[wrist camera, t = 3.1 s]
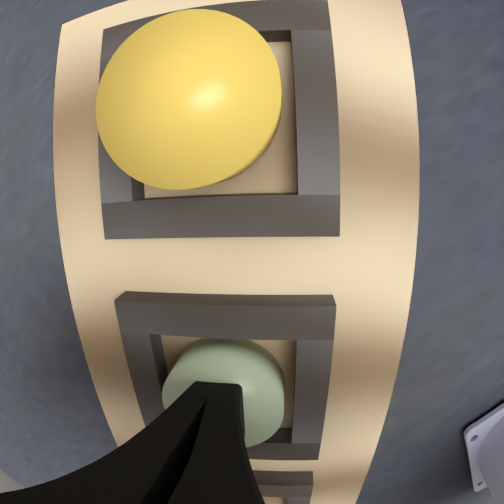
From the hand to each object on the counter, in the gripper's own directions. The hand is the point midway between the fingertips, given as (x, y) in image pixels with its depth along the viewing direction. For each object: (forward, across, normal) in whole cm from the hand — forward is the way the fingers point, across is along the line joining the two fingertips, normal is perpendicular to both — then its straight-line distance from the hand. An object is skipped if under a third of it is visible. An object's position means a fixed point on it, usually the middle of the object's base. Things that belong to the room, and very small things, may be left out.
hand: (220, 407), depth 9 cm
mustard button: (0, 0, -8) cm, 8 cm away
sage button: (+1, 0, 0) cm, 1 cm away
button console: (+4, 0, 0) cm, 4 cm away
